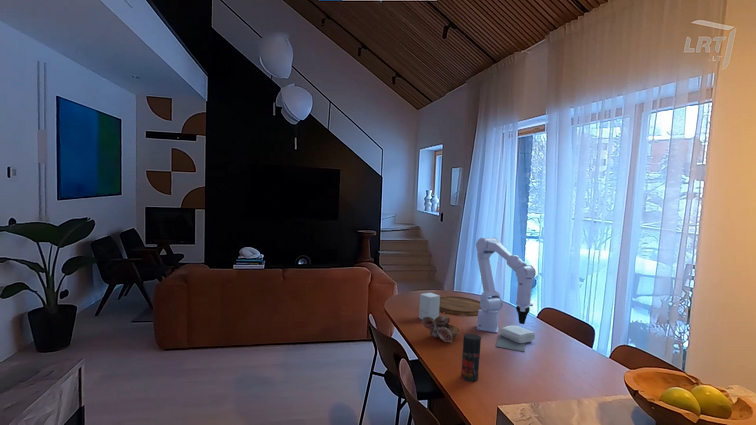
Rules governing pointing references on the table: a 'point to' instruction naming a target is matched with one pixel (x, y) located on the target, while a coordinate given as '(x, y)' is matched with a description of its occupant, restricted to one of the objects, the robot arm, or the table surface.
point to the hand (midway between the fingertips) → (521, 323)
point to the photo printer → (518, 334)
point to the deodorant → (470, 357)
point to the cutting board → (459, 305)
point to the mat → (509, 344)
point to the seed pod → (440, 327)
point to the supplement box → (429, 305)
